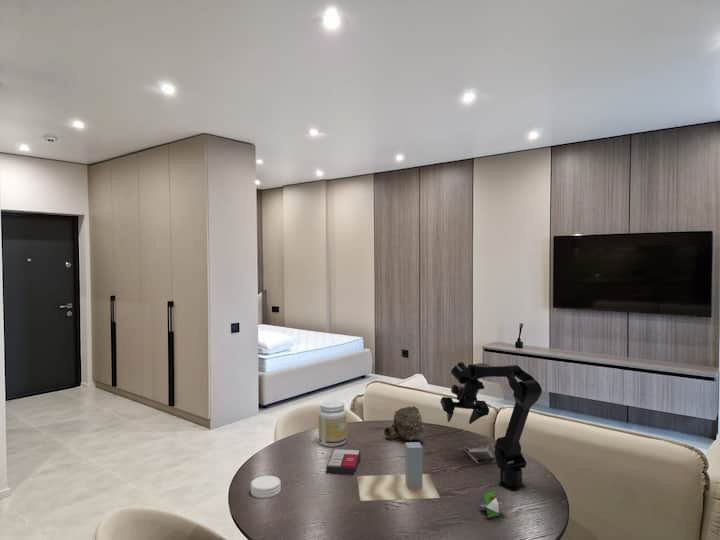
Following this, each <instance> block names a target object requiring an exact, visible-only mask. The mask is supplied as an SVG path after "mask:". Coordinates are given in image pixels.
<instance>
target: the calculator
mask: <svg viewBox="0 0 720 540" xmlns="http://www.w3.org/2000/svg"><path fill="white" fill-rule="evenodd" d="M360 462H361V450H359V449H357V450H356V449H333V450H332V452H331V455H330V458H329V460H328V462H327V464H326V474H327V473H330V474H329V475H340V476H341V475H344V476H347V475H348V476H354V475H355V473H357V470H358V466H359V464H360Z"/></svg>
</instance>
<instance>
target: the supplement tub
mask: <svg viewBox="0 0 720 540" xmlns="http://www.w3.org/2000/svg"><path fill="white" fill-rule="evenodd" d="M319 409H320V410H318V443H319V444H320V445H321V446H324V447H329V448H335V447H341V446H343V445H345V444H346V442H347V410H346V409H345V403H344V402H342V401H339V400H326V401H323V402H321V403H320V407H319Z"/></svg>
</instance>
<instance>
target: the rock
mask: <svg viewBox="0 0 720 540" xmlns="http://www.w3.org/2000/svg"><path fill="white" fill-rule="evenodd" d="M425 431H426V430H425V426H424V422H423V420H422V414H421V412H420V411H419V408H418V407H416V406H407V407H402V408H399V409H398V410H395V411H394V414H393V421H392V424H391V425H390V426H388V427H385V428H384V430H383V434H384V437H385V438H386V439H388V440H395V439H398V438H402V439H404V440H407V441H410V442H412V441H413V440H419V439H421V438H422V437H423V433H425Z"/></svg>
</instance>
